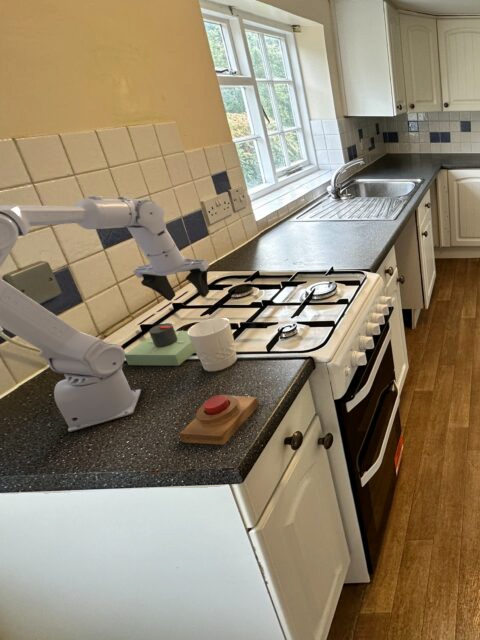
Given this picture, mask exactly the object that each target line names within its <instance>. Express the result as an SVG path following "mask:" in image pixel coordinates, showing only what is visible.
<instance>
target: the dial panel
mask: <svg viewBox="0 0 480 640" xmlns="http://www.w3.org/2000/svg"><path fill="white" fill-rule="evenodd" d="M187 331H188V330H175V333H176V336H177V341H176V342H175V343H173V344H171V345H168V346H165V347H155V345H154V343H153V340H152V338H151V335H150V336H149V337H147V338H145V339H144V340H143V341H141V342H140V343H138V344H137V345H136V346H134V347H133V348H131V349H130V350H128V351H127V352H125V361H126V363H127V365H128V366H180V365H182V364H183V363H184V362H185V361H186V360H187V359H189V358H190V357H191V356H192V355H193V354H196V352H195V350H194V347H193V345H192V343H191V340H190V338H189V336H188V333H187Z"/></svg>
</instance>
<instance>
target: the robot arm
mask: <svg viewBox="0 0 480 640" xmlns="http://www.w3.org/2000/svg"><path fill="white" fill-rule="evenodd" d="M164 218H165V211H164V208H163V206H160V205H158V204H157V203H156V202H155V201H153V200H151V199H144V198H129V197H128V196H118V197H117V198H103V196H102V195H88V197H87V198H82V199H79V200H77V201H76V202H75V203H74V204H73V205H28V204H27V205H20V204H16V205H15V204H0V269H1V268H2V267H3V264H4V263H5V262H6V260H7V258H8V256H9V255H10V253H11V252H12V250H13V248H14V247H15V245H16V244H17V241H18V239H19V236H20V237H25V236H27V235H28V233H29V231H30V229H31V227H39V226H40V227H41V226H56V225H68V224H70V225H71V224H76V225H78V226H79V227H81V228H83V229H85V230H100V229H101V230H102V229H119V228H120V229H121V228H126V229H127V230H128V231H129V233H130V235H131V236H132V238H133V239H134V241H135V242H136V244H137V245H138V247H139V248H140V250H141V251H142V253H143V255H144V256H145V258H146V259H147V261H148V262H149V264H143V265H138V266H137V267H136V268H135V269H134V270H132V272H133V273H134V275H135V276H136V278H137V279H141V278H142V280H141V282H140V283H141V285H142V286H143V287H146V288H149V289H151V290H153V291H155V292H156V293H158V294H159V295H161V297H163V298H164V299H165V300H166V301H168V302H172V300H173V299H174V298H175V297H176V292H175V290H174V289H173V287H172V285H171V283H170V281H169V279H168V276H170V275H174V274H178V273H183V272H189V273H188V274H187V275H186V277H185V280H186V281H188V282H190V283H191V284H192V285H193V286H194V287H195V290H196V291H197V292H198V293H199V295H200V296H201V297H202V298H206V297H207V296H208V295H209V293H210V288H209V283H208V271H209V267H210V264H209V263H208V260H207V259H196V258H188V257H187V258H186V257H185V256H184V255H182V253H181V251H180V250H179V248H178V246H177V245H176V243H175V241H174V239H173V238H172V236H171V234H170V233H169V231H168V229H167V224H166V222H165V220H164ZM0 327H1V328H3V329H4V330H6V331H8V332H10V333H11V334H13V335H14V336H17V337H18V338H20V339H21V340H23V341H25V342H27V343H28V344H30V345H32V346H33V347H35V348H37V349H39V350H40V351H39V353H38V356H39V357H41V358H43V359H44V360H45V361H46V362H47V365H48V367H49V368H50V370H52V371H53V372H54V373H57V374H63V375H64V377H65V379H62V380H59V381H58V382H57V383H56V384H55V387H54V390H53V396H54V402H55V404H56V407H57V408H58V410H59V412H60V413H61V416H62V417H63V419H64V421H65V423H66V424H67V426H68V428H67V431H68V433H70V432H71V433H72V432H75V431H77V430H82V429H85V428H88V427H91V426H95V425H98V424H103V423H105V422H110V421H112V420H117V419H120V418H124V417H126V416H130V415H132V414H133V413H134V412H135V409H136V407H137V405H138V401H139V398H140V396H141V393H142V389H139V388H138V389H134V390H132V389H131V387H130V385H129V382H128V380H127V377H126V376H125V373H124V371H123V365H124V362H125V361H126V358H125V353H126V352H125V349H124V348H123V347H122V346H121V345H120V344H118V343H115V342H114V343H113V342H106V341H104V340H102V339H101V338H100V337H96V336H94V335H90V334H87V333H84V332H82V331H80V330H78V329H76V328H75V327H74V326H72V325H71V324H69V323H68V322H66V321H65V320H63V319H62V318H61V317H59V316H57V315H56V314H55V313H53V312H52V311H50V310H48V309H47V308H46V307H44V306H43V305H41V304H40V303H38V302H37V301H35V300H33V298H30V297H29V296H28V295H26V294H25V293H24V292H22V291H20V290H19V289H18V288H15V287H14V286H13V285H11V284H10V283H8V282H7V281H5V280H4V279H2V278H1V277H0Z"/></svg>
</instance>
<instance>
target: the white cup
mask: <svg viewBox="0 0 480 640" xmlns="http://www.w3.org/2000/svg"><path fill="white" fill-rule="evenodd" d="M186 331H187V333H188V336H189V338H190V340H191V343H192V345H193V347H194V350H195V354H196V356H197V358H198V360H199V361H200V363H201V366H202V368H203V370H205V371H206V372H217V371H221V370H225V369H226V368H229V367H231V366H233V364H235V363H236V362H237V360H238V355H237V351H236V343H235V338H234V334H233V330H232V327H231V322H230V320H229V319H228V318H226V317H212V318H208V319H204V320H202V321H199V322H196V323H194V325H191V326H190V327H189V328H188V329H187V330H186Z"/></svg>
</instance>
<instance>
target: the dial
mask: <svg viewBox="0 0 480 640" xmlns="http://www.w3.org/2000/svg"><path fill="white" fill-rule="evenodd" d="M175 331H176V330H175V328H174V326H173V324H172V323H170V322H167V323H166V322H165V323H161V324H157V325H155V326H153V327H152V328H150V329H149V330H148V332H149V335H150V336H151V338H152V340H153V343H154V345H155V347H165V346H168V345H171V344H173V343H175V342H176V341H177V336H176V333H175Z"/></svg>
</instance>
